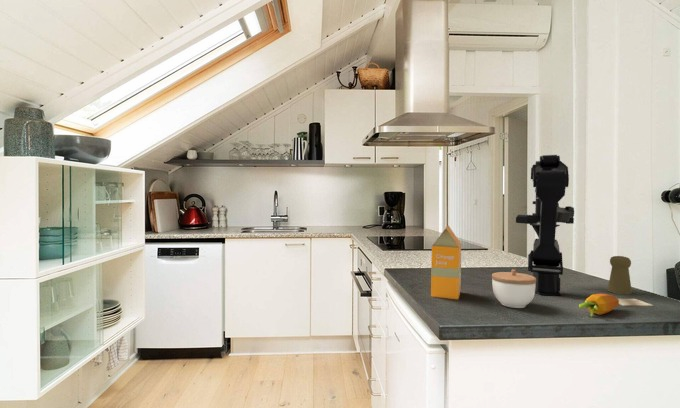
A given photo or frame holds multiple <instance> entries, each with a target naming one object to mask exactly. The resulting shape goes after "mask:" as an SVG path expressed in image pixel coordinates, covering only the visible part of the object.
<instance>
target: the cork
mask: <svg viewBox="0 0 680 408" xmlns="http://www.w3.org/2000/svg"><path fill="white" fill-rule="evenodd" d="M609 264H610V265H611V269H610V275H609V279H608V280H609V281H608V285H607V291H608V292H610V293H613V294H619V295H627V296H628V295H633V291H632V282H631V276H630V269H629V268H630V267H631V265H632V261H631V259H630V258H629V257H626V256H623V255H622V256H621V255H614V256H613V255H612V256H611V257H610V258H609Z"/></svg>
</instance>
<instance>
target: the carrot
mask: <svg viewBox="0 0 680 408" xmlns="http://www.w3.org/2000/svg"><path fill="white" fill-rule="evenodd" d="M618 299H619V298H618V297H616V296H615V295H613V294H607V293H595V294H594V293H593V294H591V295H590V296H588V297H587V298H586V299H585V301H584V302H582V303H579V305H578V308H579V309H587V310H588V311H589V312H590V317H592V318H593V317H594V314H596V315H598V316H601V315H604V314H608V313H609V312H610V313H611V311H613V310H614V309H616V308H617V307H619V305H620V304H619V300H618Z"/></svg>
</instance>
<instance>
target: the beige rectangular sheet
mask: <svg viewBox="0 0 680 408" xmlns="http://www.w3.org/2000/svg"><path fill="white" fill-rule="evenodd" d="M617 299H618V300H619V304H618V305H619V306H622V307H653V306H654V305H653V304H651V303H648V302H645V301H643V300H639V299H637V298H617Z"/></svg>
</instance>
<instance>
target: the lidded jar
mask: <svg viewBox="0 0 680 408" xmlns="http://www.w3.org/2000/svg"><path fill="white" fill-rule="evenodd" d="M491 278H492V279H491V282H492V284H491V285H492V292H493V295H494V297H495V298H496V299H497V301H498V302H499V303H500V305H502V306H503V307H507V308H512V309H525V308H526V307H527V305H528V304H530V303H531V302H532V300H533V299H534V297H535V293H536V292H535V287H536V278H535V277H534V276H533V275H530V274H526V273H523V272H522V273H521V272H517V270H516V269H511V271H506V272H505V271H498V272H496V271H495V272H493V273H492V274H491Z"/></svg>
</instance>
